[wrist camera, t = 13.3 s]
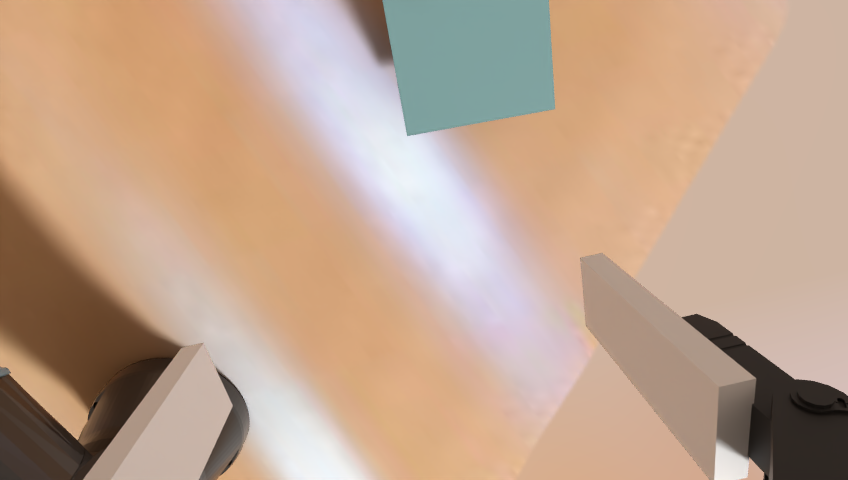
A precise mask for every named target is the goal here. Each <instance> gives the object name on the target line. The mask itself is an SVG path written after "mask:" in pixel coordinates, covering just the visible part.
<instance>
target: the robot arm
mask: <svg viewBox="0 0 848 480" xmlns="http://www.w3.org/2000/svg"><path fill="white" fill-rule="evenodd" d="M580 261H581V273H582V285H583V297H584V309H585V321H586V327H587V328H588V329H589V330H590V332H591V333H592V334H593V335H594V337H595V338H596V339H597V340H598V341H599V343H600V344H601V345H602V346H603V348H604V349H605V350H606V351H607V352H608V354H609V355H610V356H611V358H612V359H613V360H614V361H615V363H616V364H617V365H618V366H619V367H620V369H621V370H622V371H623V373H624V374H625V375H626V376H627V378H628V379H629V380H630V381H631V382H632V384H633V385H634V386H635V387H636V389H637V390H638V391H639V392H640V394H641V395H642V396H643V397H644V399H645V400H646V401H647V402H648V403H649V405H650V406H651V407H652V408H653V410H654V411H655V412H656V414H657V415H658V416H659V417H660V419H661V420H662V421H663V422H664V423H665V425H666V426H667V427H668V428H669V429H670V431H671V432H672V433H673V435H674V436H675V437H676V438H677V440H678V441H679V442H680V443H681V445H682V446H683V447H684V448H685V450H686V451H687V452H688V453H689V455H690V456H691V457H692V458H693V460H694V461H695V462H696V463H697V465H698V466H699V467H700V468H701V469H702V471H703V472H704V473H705V474H706V476H707V477H708V478H709V479H710V480H738V479H742V478H747V477H748V466H749V457H750V458H751V459H752V460H753V461H754V462H755V464H756V465H757V466H758V467H759V468H760V469H761V470H762V471H763V472H764V479H763V480H848V396H847V395H846V394H845V393H843V392H841V391H839V390H837V389H835V388H833V387H831V386H829V385H825V384H822V383H818V382H815V381H808V380H795V379H793V378H792V377H791V376H789V375H788V374H787V373H785V372H784V371H783V370H781V369H780V368H779V367H777V366H776V365H775V364H773V363H772V362H770V361H769V360H768V359H766V358H765V357H764V356H762V355H761V354H760V353H758V352H757V351H756V350H754V349H753V348H751V347H750V346H747V345H746V344H745V342H743V341H742V340H741V339H739V338H738V337H737V336H733V333H731V332H730V331H729V330H727V329H726V328H725V327H723V326H722V325H720V324H719V323H718V322H716V321H713V320H711V319H708V318H706V317H703V316H701V315H698V314H694V315H690V316H686V317H680V316H679V315H678V314H676V313H675V312H674V311H673V310H672V309H670V308H669V307H668V306H667V305H665V304H664V303H663V302H662V301H660V300H659V299H658V298H657V297H656V296H654V295H653V294H652V293H651V292H649V291H648V290H647V289H646V288H645V287H643V286H642V285H641V284H639V283H638V282H637V281H636V280H635V279H633V278H632V277H631V276H630V275H629V274H627V273H626V272H625V271H624V270H622V269H621V268H620V267H619V266H618V265H616V264H615V263H614V262H613V261H611V260H610V259H609V258H608V257H606V256H605V255H604V254H603V253H600V254H595V255H591V256H586V257H582V258H580ZM10 373H11V372H10V371H9V369H7V368H2V367H0V480H217V479H218V477H219V476H220V475H222V474H223V473H224V472H225V471H226V470H227V469H228V468H229V467H230V466H231V465H232V464H233V463H234V461H235V460H236V458H237V457H238V455H239V453H240V451H241V449H242V447H243V444H244V442H245V439H246V437H247V434H248V431H249V413H248V409H247V406H246V404H245V402H244V400H243V398H242V396H241V395H240V393H239V392H238V391H237V390H236V388H235V387H234V386H233V385H232V384H231V383H230V382H229V381H227V380H226V379H225V378H224V377H222V376H221V375H219V374H218V373H217V370H216V368H215V366H214V364H213V362H212V360H211V358H210V355H209V353H208V351H207V349H206V347H205V345H204V343H200V344H196V345H192V346H187V347H183V348H181V349H180V351H179V352H178V353H177V355H176V356H175V357H174V359H171V358H158V359H149V360H145V361H141V362H137V363H135V364H132V365H130V366H128V367H126V368H124V369H123V370H121V371H120V372H119V373H117V374H116V375H115V376H114V377H113V378H112V379H111V380H110V381H109V382H108V384H107V385H106V386H105V387H104V388H103V389H102V390H101V391H100V392H99V394H98V395H97V397H96V398H95V400H94V402H93V404H92V406H91V409H90V411H89V415H88V422H87V423H86V425H85V426H84V428H83V430H82V432H81V434H80V437H79V439H78V441H77V440H76V439H75V438H74V437H73V436H72V435H71V434H70V433H69V432H68V431H67V430H66V429H65V428H64V427H63V426H62V425H61V424H60V423H59V422H58V421H57V420H55V419H54V418H53V417H52V416H51V415H50V414H49V413H48V412H47V411H46V410H45V409H44V408H43V407H42V406H41V405H40V404H39V403H38V402H37V401H36V400H35V399H33V398H32V397H31V396H30V395H29V394H28V393H27V392H26V391H25V390H24V389H23V388H22V387H21V386H20V385H19V384H18V383H17V382H16V381H15V380H14V379H13V378H12V377H11V376H10V375H9V374H10Z"/></svg>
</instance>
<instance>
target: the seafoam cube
mask: <svg viewBox="0 0 848 480" xmlns="http://www.w3.org/2000/svg"><path fill="white" fill-rule="evenodd" d="M383 6H384V11H385V17H386V22H387V28H388V33H389V39H390V44H391V50H392V55H393V61H394V66H395V72H396V77H397V83H398V88H399V93H400V99H401V104H402V110H403V115H404V121H405V126H406V132H407V136H410V135H416V134H421V133H427V132H432V131H438V130H443V129H449V128H454V127H459V126H465V125H470V124H476V123H481V122H487V121H492V120H498V119H503V118H509V117H514V116H520V115H525V114H531V113H536V112H542V111H547V110H553V109H555V100H554V82H553V65H552V48H551V30H550V13H549V0H383Z"/></svg>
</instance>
